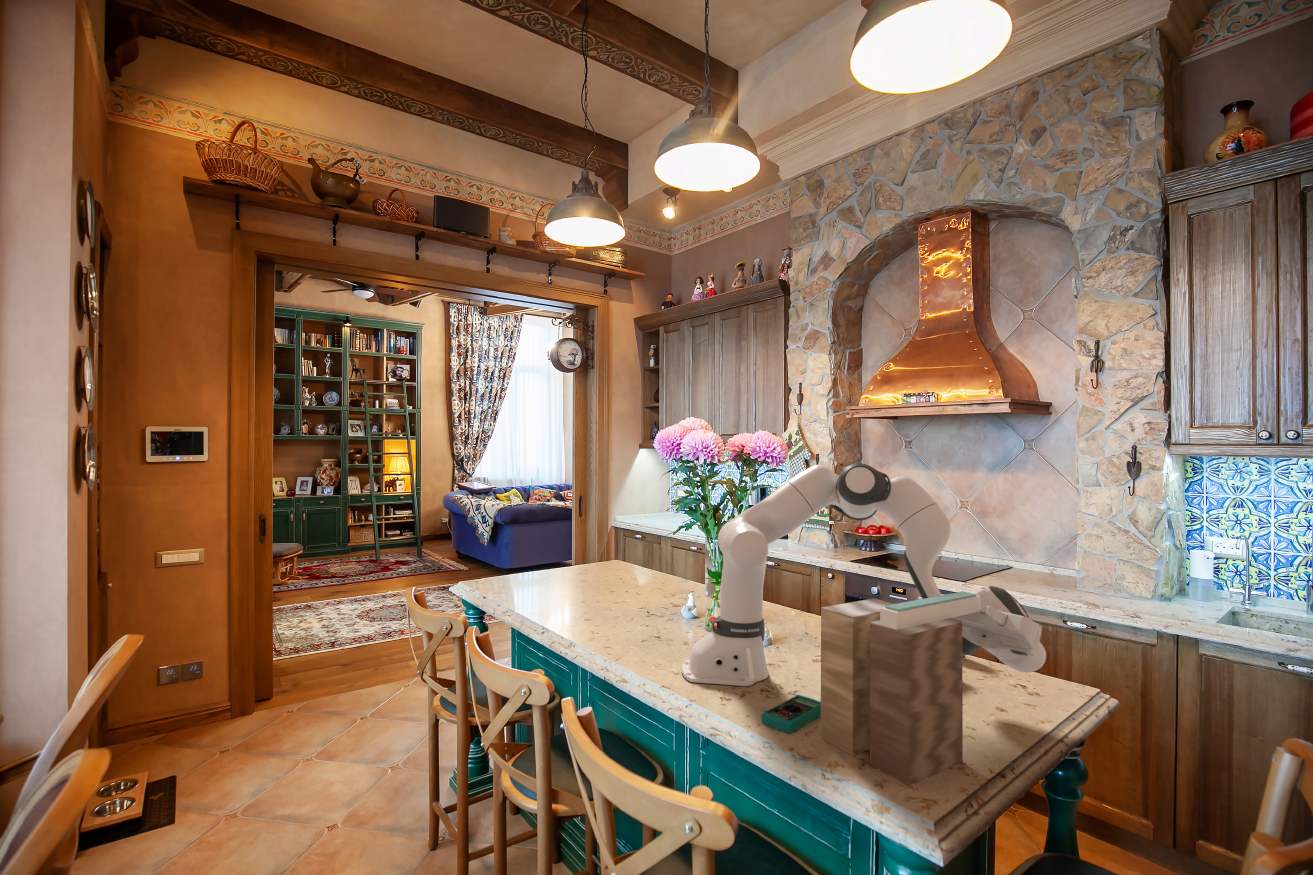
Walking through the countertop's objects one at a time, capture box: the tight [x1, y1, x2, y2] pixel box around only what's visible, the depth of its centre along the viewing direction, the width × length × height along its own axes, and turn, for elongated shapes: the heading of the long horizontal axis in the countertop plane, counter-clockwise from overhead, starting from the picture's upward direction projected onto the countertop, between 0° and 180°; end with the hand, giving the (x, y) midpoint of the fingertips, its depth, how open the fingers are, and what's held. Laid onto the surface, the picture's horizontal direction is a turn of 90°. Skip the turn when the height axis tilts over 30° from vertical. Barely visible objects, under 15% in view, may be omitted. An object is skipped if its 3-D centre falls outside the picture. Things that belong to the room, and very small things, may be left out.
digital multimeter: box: [761, 694, 821, 734], centre depth 131 cm, size 7×15×3 cm, turn 135°
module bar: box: [880, 591, 981, 630], centre depth 115 cm, size 26×4×3 cm, turn 121°
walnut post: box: [869, 618, 964, 786], centre depth 112 cm, size 16×8×26 cm, turn 121°
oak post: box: [820, 598, 895, 756], centre depth 122 cm, size 16×8×26 cm, turn 122°
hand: (961, 603), depth 120 cm, fingers open, 8 cm apart
